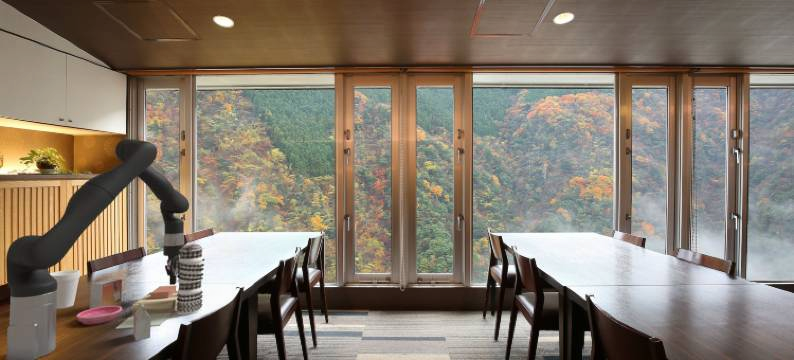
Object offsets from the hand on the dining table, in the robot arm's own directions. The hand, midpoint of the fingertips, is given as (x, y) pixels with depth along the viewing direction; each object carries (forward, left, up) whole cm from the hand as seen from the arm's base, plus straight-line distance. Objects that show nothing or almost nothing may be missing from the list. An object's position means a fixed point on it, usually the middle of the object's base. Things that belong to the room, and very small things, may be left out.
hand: (173, 284), depth 152 cm
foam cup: (-3, +37, -6) cm, 38 cm away
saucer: (-22, +16, -6) cm, 28 cm away
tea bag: (-41, -4, -6) cm, 42 cm away
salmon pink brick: (-10, 0, -2) cm, 10 cm away
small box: (-9, +20, -6) cm, 23 cm away
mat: (-27, 0, -6) cm, 28 cm away
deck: (-13, 0, -6) cm, 14 cm away
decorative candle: (-19, -12, -6) cm, 23 cm away
